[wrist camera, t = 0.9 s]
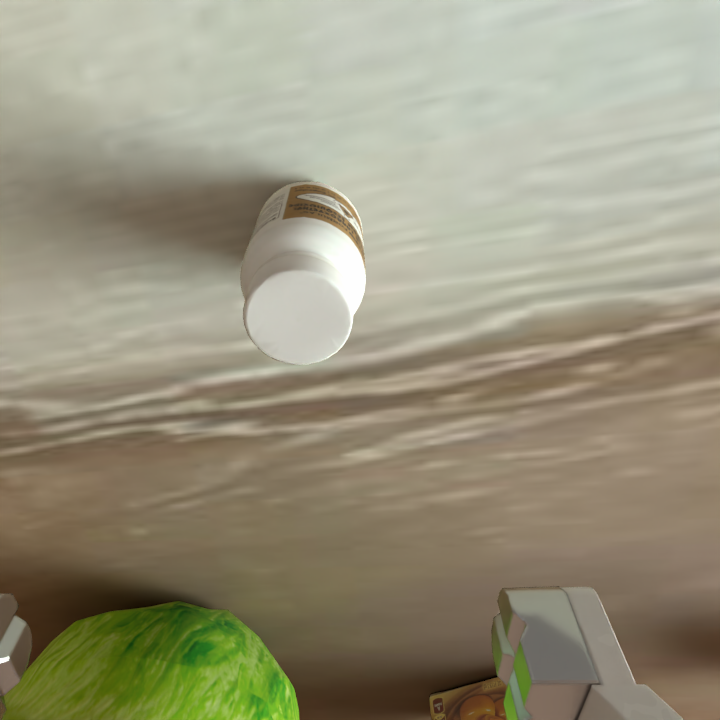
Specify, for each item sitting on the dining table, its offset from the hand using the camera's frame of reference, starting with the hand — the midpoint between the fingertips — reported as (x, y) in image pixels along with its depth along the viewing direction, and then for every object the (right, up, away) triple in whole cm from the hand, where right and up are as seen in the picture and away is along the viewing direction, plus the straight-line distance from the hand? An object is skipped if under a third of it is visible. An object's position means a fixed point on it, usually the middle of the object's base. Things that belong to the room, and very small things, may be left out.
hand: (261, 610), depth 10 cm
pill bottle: (0, +10, +15) cm, 18 cm away
